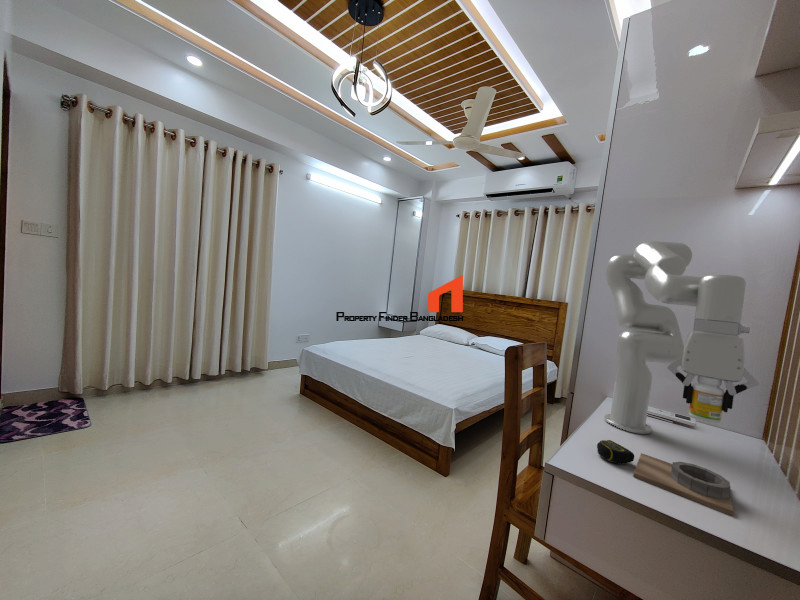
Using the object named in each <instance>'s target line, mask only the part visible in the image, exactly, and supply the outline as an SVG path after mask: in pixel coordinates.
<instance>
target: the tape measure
mask: <svg viewBox="0 0 800 600" xmlns="http://www.w3.org/2000/svg"><path fill="white" fill-rule="evenodd" d="M596 448H597V454H598V455H599V456H600V457H601V458H603V459H604V460H607V461H609V462H610V463H614V464H617V465H626V464H628V463H632V462H634V460H635V453H634V452H633V451H631V450H629V449H628V448H627V447H626V448H625V447H624V446H622V445H621V444H619V443H616V442H615V441H613V440H611V439H607V440H605V439H603V440H600V441H599V442H598V443H597V445H596Z"/></svg>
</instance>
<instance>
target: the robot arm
mask: <svg viewBox="0 0 800 600" xmlns="http://www.w3.org/2000/svg"><path fill="white" fill-rule="evenodd" d="M692 259H693V252H692V249H691V248H690V246H688V245H687V244H684V243H682V242H672V241H658V240H657V241H656V240H654V241H653V240H651V241H645V242H642V243H640V244H639V245H637V246H636V247H635V249H634V251H633V254H631V253H623V254H616V255H614V256H612V257H611V258H610V259H608V261H607V263H606V267H605V278H606V280H607V281H606V283H607V284H608V287H609V289H610V291H611V293H612V296H613V299H614V300H613V301H614V306H615V312H616V317H617V321H618V324H619V326H620V327H621V328H623V329H626V330H625V331H623V332H621V333H620V334H619V335H618V336H617V339H616V353H617V355H616V357H617V359H616V363H617V364H616V372H615V379H614V386H613V387H614V388H613V394H612V401H611V409H610V413H608V414H605V415H604V417H603V418H605V419H604V421H605V420H606V421H607V422H608V424H609V423H610V424H609V425H611V424H612V425H614V426H613V427H615V426H616V427H615V428H617V427H618V428H617V429H619V428H620V429H619V430H622V429H623V431H625V430H626V431H627V432H630V433H632V434H633V433H634V434H638V435H639V434H641V435H648V434H651V432H652V428H651V426H649V425H648V424H647V419H648V418H647V417H648V410H649V405H650V404H649V403H650V396H651V390H652V384H653V383H652V381H653V375H652V372H651V369H650V368H649V367H648V365H647V364H646V362H649V363H659V364H665V365H667V369H668V370H669V371H670V372H671V373H672V374H673V375H674V376H675V377H676V378H677V380H679V381H680V382H681V383H682V385H683V392H682V393H683V394H682V399H686V400H685V401H686V402H685V403H686V404H689V405H690V402H691V394H692V386H693V385H692V382H693V380H694V379H695V377H698V376H702V377H707V378H713V379H718V380H722V381H723V383H724V385H725V387H726V390H725V391H724V401H723V408H722V412H724V413H728V410H732V409H733V405H734V396H736V395H737V394H740V393H742V392H744V391H746V390H748V389H752V388H755V387H757V386H759V385H760V383H759V381H758V380H757V379H756V378H755V377H754V376H753V375H752V373H750V372H749V371H748V370H747V369H746V368H745V356H746V355H745V343H744V338H743V337H740V335H742V334H750V329H751V327H749V326H748V327H747V326H744V325H742V323H741V321H742V317H743V310H744V300H745V293H746V285H747V283H746V280H745V278H744V277H742V276H739V275H733V274H732V275H730V274H708V275H704V276H702V277H701V276H693V275H692V276H691V275H683V274H684V273H685V272H686V269H687V267H688V266H689V265H690V264H691V261H692ZM632 279H633V280H635V279H636V280H644V286H645V288H646V290H647V292H648V293H649V294H650V295H651V296H652V297H653V298H654V299H655V300H657V301H658V302H660V303H663V304H667V305H679V306H685V307H686V306H688V307H689V306H690V307H695V313H694V320H693V321H694V322H693V329H692V331H688V332H687V335H686V338H685V341H684V340H683V337H682V334H681V329H680V327H679V322H678V319H677V316H676V314H675V312H674V311H673V309H671V308H670V307H668V306H666V305H661V304H651V303H647V302H646V301H645V298H644V292H643V290H642V289H641V288H640V287H639V286H638V285H637V284H636V282H634V281H633V280H632ZM679 367H681V370H682V371H683V372H684V373H686V375H684V374H683V373H682V372H681V371H679V370H678V368H679ZM743 378H744V379H745V380H746V381H744V382H741V381H742V380H743ZM739 382H741V383H739ZM734 383H739V384H736V385H734ZM606 421H605V422H606ZM607 422H606V423H607ZM612 425H611V426H612Z"/></svg>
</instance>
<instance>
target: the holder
mask: <svg viewBox="0 0 800 600" xmlns="http://www.w3.org/2000/svg"><path fill="white" fill-rule="evenodd" d="M633 478H635V479H638V480H641V481H643V482H645V483H648V484H650V485H653V486H655V487H658V488H660V489H663V490H666V491H668V492H671V493H672V494H676V495H678V496H681V497H684V498H686V499H688V500H691V501H693V502H695V503H699V504H700V505H703V506H706V507H708V508H711V509H713V510H716V511H718V512H721V513H723V514H726V515H728V516H730V517H733V515H734V507H733V502H732V499H731V493H730V492H731V488H732V487H731V483H730V481H729V480H727V479H726V478H725V477H724V476H722V475H720V474H718V473H717V472H715V471H713V470H710V469H708V468H706V467H702V466H699V465H697V464H693V463H689V462H685V461H674V462H673V461H672V463H671V462H668V461H665V460H662V459H659V458H656V457H653V456H650V455H648V454H645V453H642V452H641V453H640V455H639V458H638V460H637V463H636V466H635V468H634V471H633Z"/></svg>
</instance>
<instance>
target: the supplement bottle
mask: <svg viewBox="0 0 800 600" xmlns="http://www.w3.org/2000/svg"><path fill="white" fill-rule="evenodd" d="M722 381H723V380H718V379H713V378H707V377H702V376H697V383H693V385H691V386H692V394H691V402H690V403H689V406H688V407H689V409H688V415H689V416H690V417H692V418H694V419H697V420H700V421H705V422H710V423H714V424H718V423H721V421H722V414H723V411H722V408H723V401H724V393H725V391H724V389H722V388H720V386H722Z"/></svg>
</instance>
